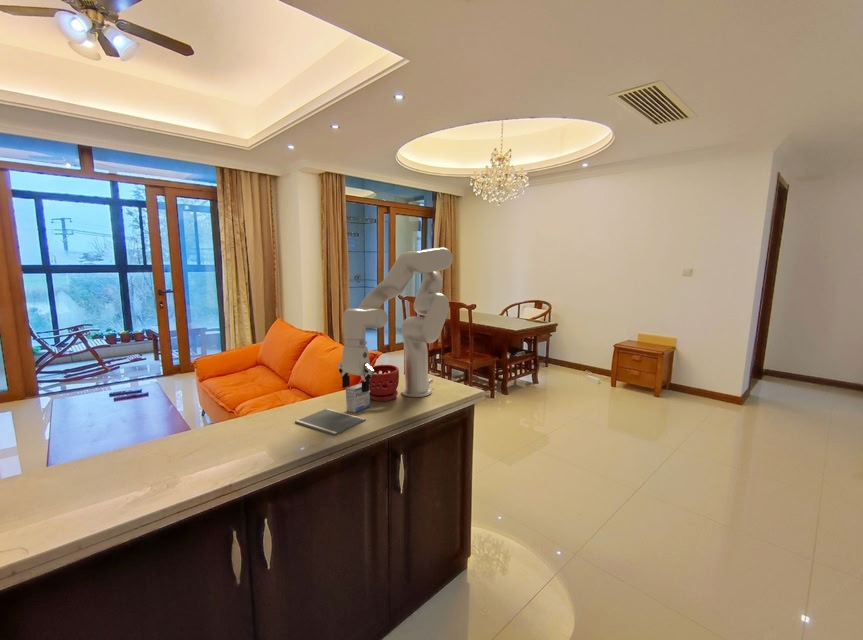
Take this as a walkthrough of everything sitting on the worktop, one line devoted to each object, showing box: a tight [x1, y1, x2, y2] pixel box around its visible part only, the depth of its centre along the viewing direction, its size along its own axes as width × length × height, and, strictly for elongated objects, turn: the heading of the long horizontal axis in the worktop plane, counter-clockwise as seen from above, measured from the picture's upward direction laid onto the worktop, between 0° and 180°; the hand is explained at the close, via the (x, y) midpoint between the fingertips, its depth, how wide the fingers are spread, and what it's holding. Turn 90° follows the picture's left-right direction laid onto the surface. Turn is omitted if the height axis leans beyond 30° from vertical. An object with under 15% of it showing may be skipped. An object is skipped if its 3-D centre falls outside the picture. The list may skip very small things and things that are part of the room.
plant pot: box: [369, 364, 400, 402], centre depth 154 cm, size 13×13×12 cm
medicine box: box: [345, 382, 371, 414], centre depth 143 cm, size 8×4×9 cm, turn 146°
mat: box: [294, 408, 366, 436], centre depth 132 cm, size 14×19×1 cm
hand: (355, 389), depth 142 cm, fingers open, 9 cm apart
